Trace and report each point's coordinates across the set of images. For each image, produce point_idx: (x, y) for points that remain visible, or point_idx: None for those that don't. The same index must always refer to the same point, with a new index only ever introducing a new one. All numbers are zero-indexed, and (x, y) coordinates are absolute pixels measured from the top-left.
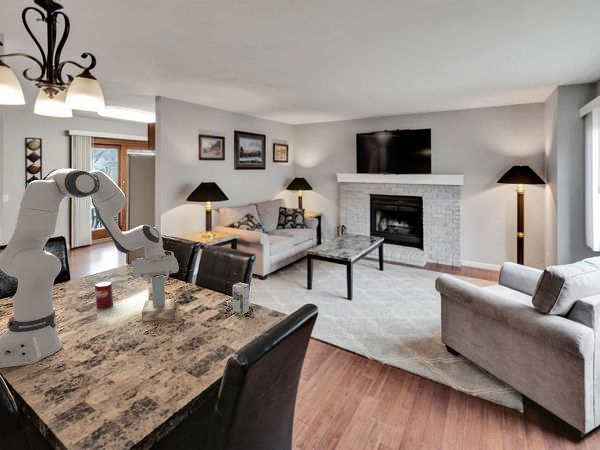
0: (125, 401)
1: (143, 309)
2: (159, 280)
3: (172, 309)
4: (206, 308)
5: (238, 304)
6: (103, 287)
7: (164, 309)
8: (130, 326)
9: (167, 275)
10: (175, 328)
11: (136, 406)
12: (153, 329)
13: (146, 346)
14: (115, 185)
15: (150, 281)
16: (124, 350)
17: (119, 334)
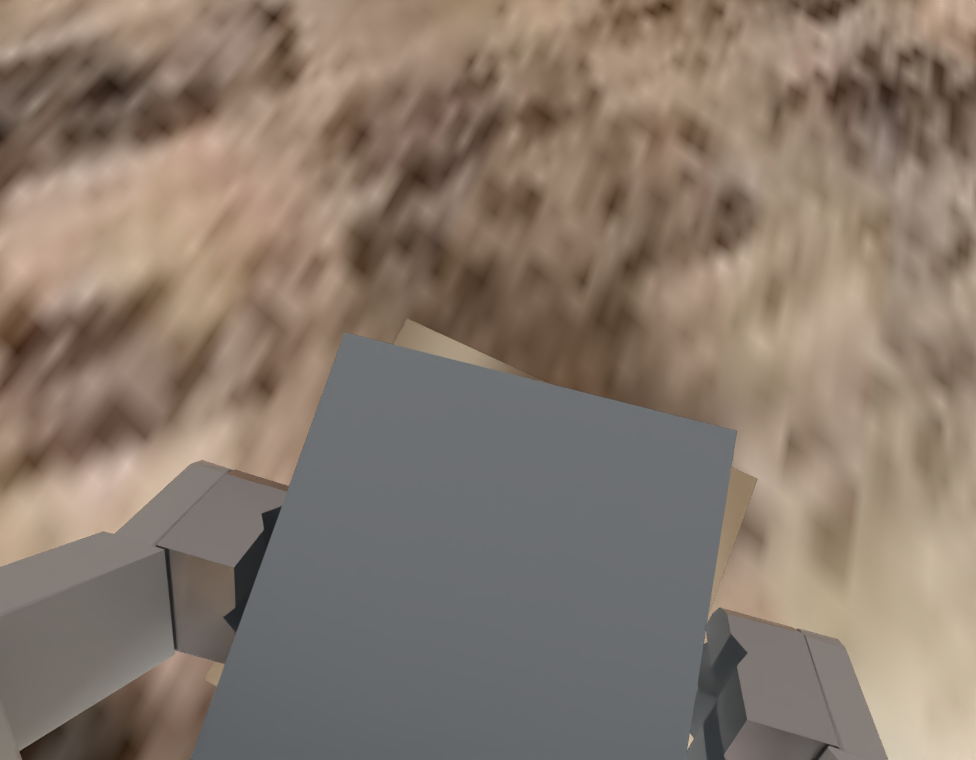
0: None
1: (719, 548)
2: (499, 373)
3: (410, 323)
4: (29, 355)
5: None
6: None
7: (494, 362)
8: (841, 449)
9: (56, 556)
10: (502, 142)
11: None
12: (665, 242)
13: (786, 22)
14: None
15: (743, 615)
16: (938, 61)
17: (956, 341)
